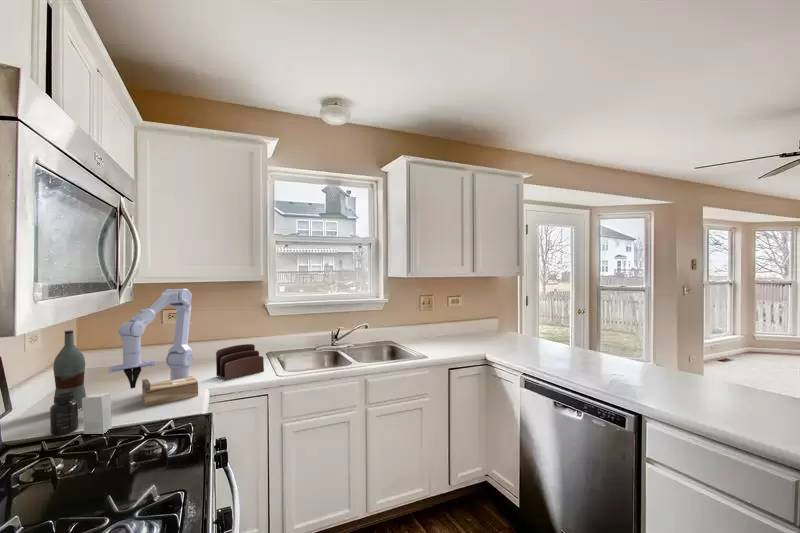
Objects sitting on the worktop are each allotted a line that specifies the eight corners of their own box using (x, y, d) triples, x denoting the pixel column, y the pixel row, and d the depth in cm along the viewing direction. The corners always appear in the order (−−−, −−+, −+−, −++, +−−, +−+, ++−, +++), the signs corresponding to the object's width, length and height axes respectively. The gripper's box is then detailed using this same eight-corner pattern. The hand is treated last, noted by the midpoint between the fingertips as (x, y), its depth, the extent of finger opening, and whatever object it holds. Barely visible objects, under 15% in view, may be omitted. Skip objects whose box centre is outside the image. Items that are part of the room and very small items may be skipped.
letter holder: (216, 377, 183) (215, 348, 183) (254, 368, 198) (253, 342, 198) (225, 380, 177) (224, 350, 177) (264, 371, 192) (263, 343, 192)
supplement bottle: (49, 431, 122) (49, 394, 122) (77, 425, 127) (76, 389, 127) (50, 438, 117) (50, 399, 117) (79, 431, 122) (78, 393, 122)
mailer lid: (142, 386, 152) (141, 379, 152) (191, 377, 163) (191, 370, 163) (145, 392, 143) (145, 384, 143) (197, 382, 155) (197, 375, 155)
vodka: (46, 414, 138) (45, 333, 139) (67, 406, 147) (65, 329, 148) (73, 413, 139) (72, 332, 139) (92, 404, 148) (90, 328, 148)
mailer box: (142, 399, 152) (142, 387, 152) (192, 389, 163) (191, 378, 163) (146, 406, 143) (145, 393, 143) (198, 395, 155) (198, 383, 155)
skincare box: (112, 429, 122) (111, 392, 122) (103, 435, 117) (102, 396, 118) (92, 431, 121) (91, 393, 122) (81, 437, 117) (81, 398, 117)
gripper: (109, 357, 138) (109, 394, 137) (155, 350, 147) (156, 385, 147) (108, 354, 143) (108, 390, 143) (153, 348, 152) (153, 382, 152)
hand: (132, 387), depth 145 cm, fingers closed
